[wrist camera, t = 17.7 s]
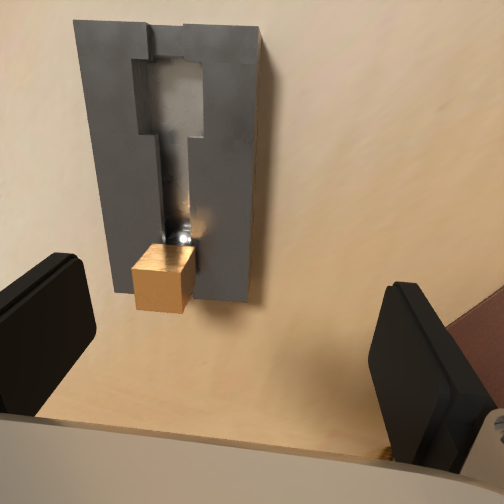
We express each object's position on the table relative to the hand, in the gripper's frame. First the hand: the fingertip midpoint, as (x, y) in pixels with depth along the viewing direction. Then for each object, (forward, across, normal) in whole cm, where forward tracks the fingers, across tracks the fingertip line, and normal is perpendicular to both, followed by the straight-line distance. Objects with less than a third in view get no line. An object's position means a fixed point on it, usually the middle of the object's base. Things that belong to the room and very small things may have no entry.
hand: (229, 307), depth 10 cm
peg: (+24, +8, +10) cm, 27 cm away
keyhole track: (+25, +8, +2) cm, 26 cm away
